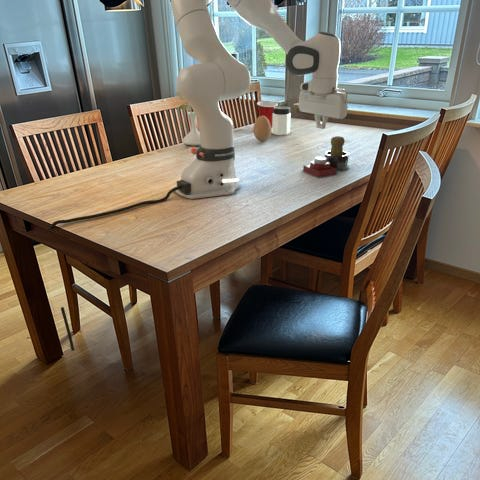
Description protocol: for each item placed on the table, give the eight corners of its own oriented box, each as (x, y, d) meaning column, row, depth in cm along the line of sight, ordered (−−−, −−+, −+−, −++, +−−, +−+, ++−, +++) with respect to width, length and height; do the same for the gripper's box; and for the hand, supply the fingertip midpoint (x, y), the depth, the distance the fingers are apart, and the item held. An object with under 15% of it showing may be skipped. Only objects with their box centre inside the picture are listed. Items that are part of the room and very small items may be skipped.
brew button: (319, 165, 180) (319, 160, 179) (311, 162, 183) (312, 157, 182) (328, 163, 181) (328, 158, 180) (321, 160, 185) (321, 156, 184)
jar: (277, 130, 246) (277, 105, 240) (292, 132, 243) (293, 106, 237) (269, 134, 240) (270, 108, 233) (285, 136, 237) (285, 109, 230)
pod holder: (333, 172, 184) (335, 157, 181) (319, 166, 191) (320, 152, 188) (351, 168, 188) (353, 154, 185) (336, 163, 195) (338, 149, 192)
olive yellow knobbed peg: (342, 168, 186) (346, 138, 180) (327, 167, 187) (329, 138, 181) (343, 164, 191) (346, 135, 185) (327, 163, 192) (330, 134, 186)
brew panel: (319, 177, 179) (320, 166, 177) (303, 171, 186) (303, 160, 184) (336, 174, 182) (337, 163, 180) (319, 168, 189) (320, 157, 187)
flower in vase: (210, 142, 227) (207, 83, 214) (202, 148, 218) (199, 87, 204) (184, 141, 230) (179, 83, 216) (175, 146, 221) (170, 86, 207)
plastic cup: (263, 130, 248) (263, 105, 241) (252, 126, 256) (253, 102, 249) (281, 128, 252) (282, 103, 246) (270, 124, 260) (270, 100, 254)
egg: (271, 139, 231) (271, 114, 225) (270, 143, 224) (270, 117, 218) (254, 139, 232) (254, 114, 226) (252, 143, 225) (252, 117, 219)
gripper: (353, 88, 163) (348, 131, 171) (309, 82, 176) (306, 122, 184) (341, 90, 160) (337, 134, 167) (297, 84, 173) (294, 124, 180)
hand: (320, 128), depth 176 cm, fingers closed
